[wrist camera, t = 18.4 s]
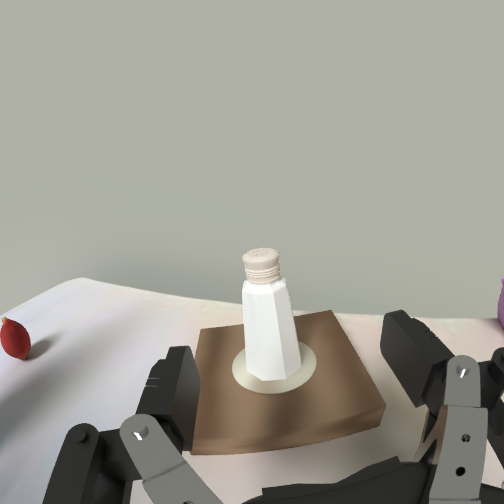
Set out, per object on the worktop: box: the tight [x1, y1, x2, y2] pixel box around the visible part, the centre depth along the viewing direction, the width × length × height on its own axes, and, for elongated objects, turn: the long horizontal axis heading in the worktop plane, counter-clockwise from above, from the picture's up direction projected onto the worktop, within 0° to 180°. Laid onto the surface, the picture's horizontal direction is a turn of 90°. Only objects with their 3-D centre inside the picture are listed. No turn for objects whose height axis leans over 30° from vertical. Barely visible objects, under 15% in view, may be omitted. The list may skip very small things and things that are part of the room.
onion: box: [0, 317, 31, 360], centre depth 29 cm, size 6×6×8 cm
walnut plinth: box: [189, 310, 386, 455], centre depth 25 cm, size 16×16×3 cm
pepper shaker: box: [242, 248, 302, 381], centre depth 23 cm, size 5×5×11 cm
